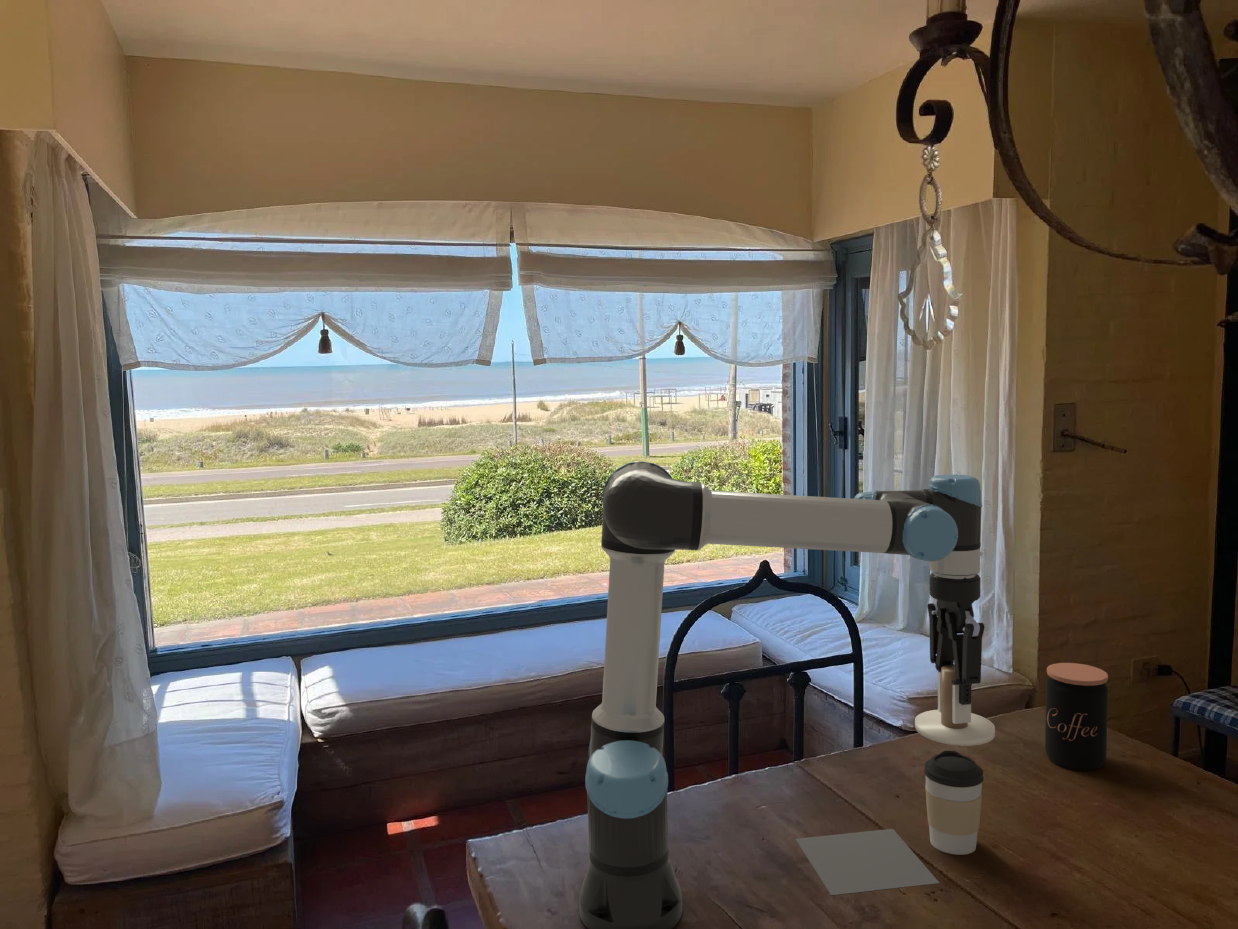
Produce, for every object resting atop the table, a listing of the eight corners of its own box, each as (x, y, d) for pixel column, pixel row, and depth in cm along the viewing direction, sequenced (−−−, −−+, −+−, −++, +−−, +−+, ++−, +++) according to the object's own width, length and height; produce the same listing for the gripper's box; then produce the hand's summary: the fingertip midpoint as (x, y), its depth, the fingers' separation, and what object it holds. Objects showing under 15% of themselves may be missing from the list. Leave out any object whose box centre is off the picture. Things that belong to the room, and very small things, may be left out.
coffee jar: (1035, 760, 172) (1037, 672, 170) (1057, 744, 179) (1059, 658, 177) (1094, 778, 164) (1096, 685, 162) (1114, 759, 171) (1116, 670, 170)
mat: (831, 900, 129) (831, 895, 129) (795, 843, 145) (795, 838, 145) (939, 888, 131) (939, 883, 131) (892, 833, 147) (892, 828, 147)
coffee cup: (988, 865, 137) (989, 773, 135) (927, 860, 139) (928, 770, 137) (976, 835, 146) (977, 749, 144) (919, 831, 147) (920, 746, 146)
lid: (937, 749, 133) (937, 685, 132) (901, 718, 145) (901, 660, 144) (1010, 741, 135) (1011, 679, 134) (969, 712, 147) (969, 654, 146)
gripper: (1007, 584, 130) (1006, 736, 132) (950, 560, 146) (949, 695, 149) (960, 587, 129) (959, 740, 131) (907, 563, 145) (907, 699, 148)
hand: (954, 716), depth 140 cm, fingers closed on lid, 4 cm apart
